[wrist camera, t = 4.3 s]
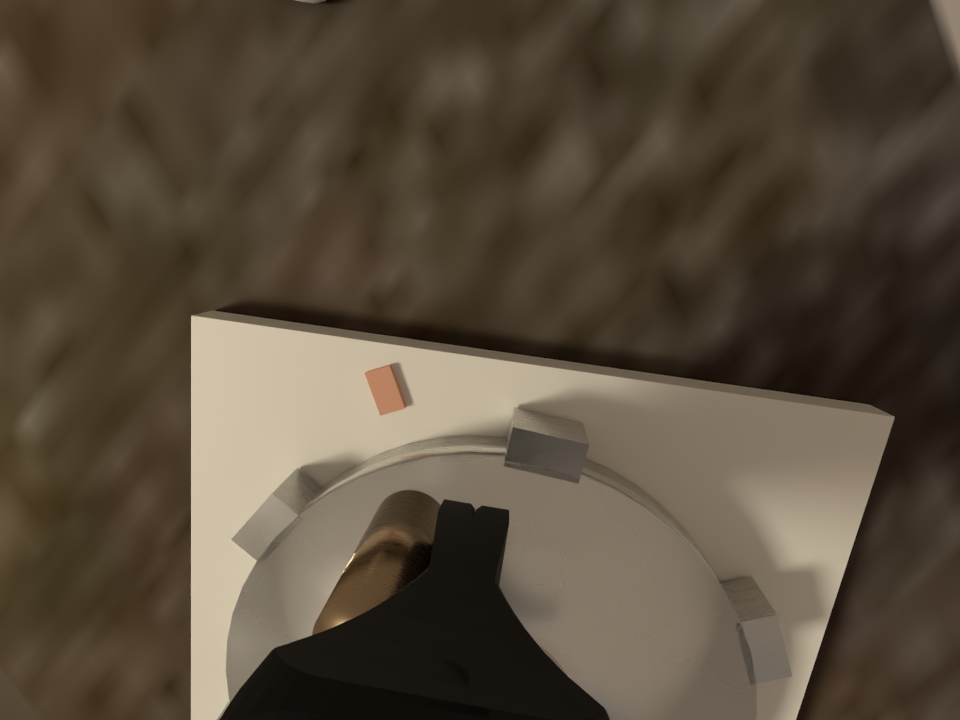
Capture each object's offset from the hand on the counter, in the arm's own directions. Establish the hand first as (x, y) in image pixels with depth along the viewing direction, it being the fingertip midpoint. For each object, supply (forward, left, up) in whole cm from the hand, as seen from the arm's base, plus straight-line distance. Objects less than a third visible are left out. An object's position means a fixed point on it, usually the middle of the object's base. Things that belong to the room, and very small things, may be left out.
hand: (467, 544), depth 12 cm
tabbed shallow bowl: (-5, -1, -3) cm, 6 cm away
